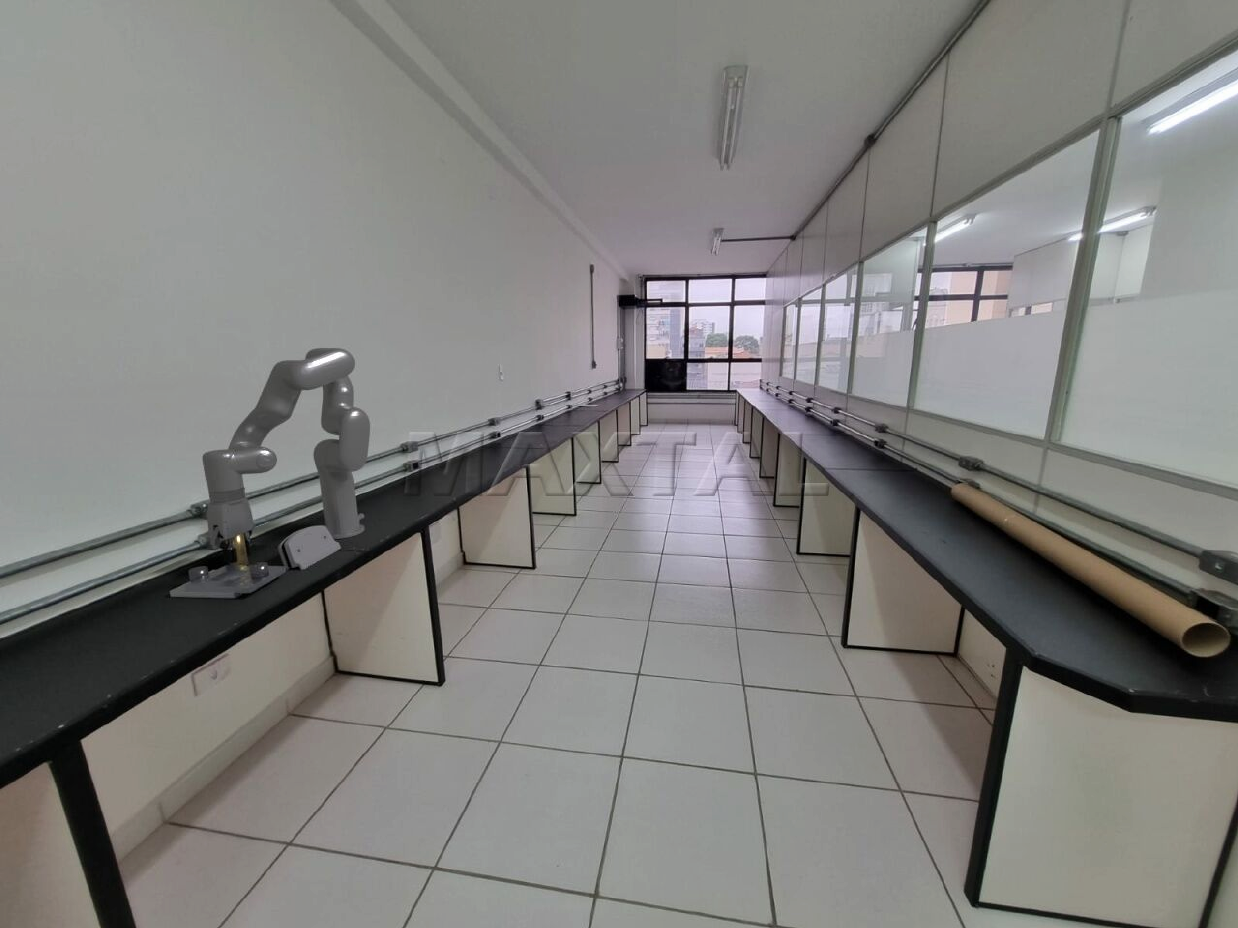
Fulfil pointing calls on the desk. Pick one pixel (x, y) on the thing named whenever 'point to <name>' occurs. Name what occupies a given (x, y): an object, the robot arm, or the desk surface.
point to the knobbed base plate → (227, 580)
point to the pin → (240, 550)
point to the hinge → (307, 547)
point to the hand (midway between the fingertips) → (238, 558)
